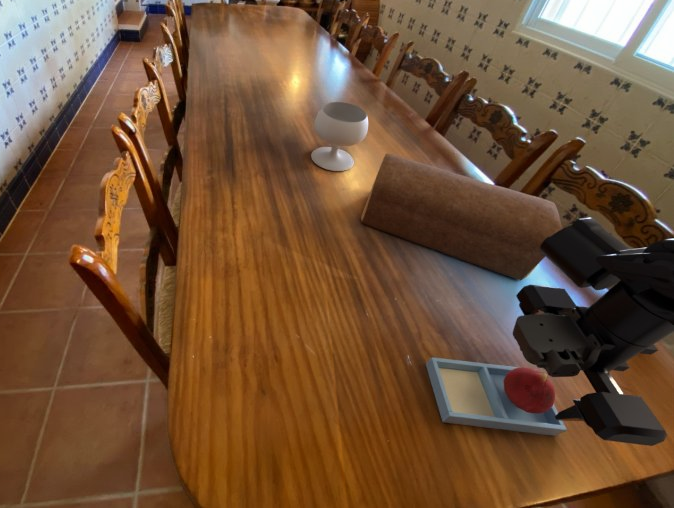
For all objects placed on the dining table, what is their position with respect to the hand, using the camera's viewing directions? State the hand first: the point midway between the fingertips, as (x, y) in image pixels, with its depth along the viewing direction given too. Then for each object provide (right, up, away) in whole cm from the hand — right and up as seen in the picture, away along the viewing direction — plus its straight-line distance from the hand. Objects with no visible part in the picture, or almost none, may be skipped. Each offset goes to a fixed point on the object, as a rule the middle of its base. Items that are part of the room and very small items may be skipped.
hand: (539, 382), depth 50 cm
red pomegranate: (0, -5, +4) cm, 7 cm away
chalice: (-17, +37, +53) cm, 66 cm away
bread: (+3, +18, +32) cm, 37 cm away
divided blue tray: (-4, -5, +5) cm, 8 cm away
